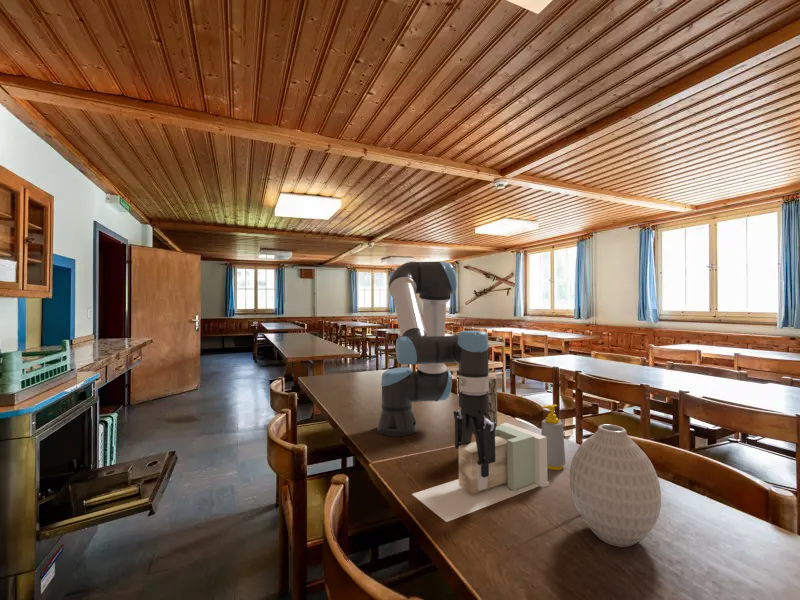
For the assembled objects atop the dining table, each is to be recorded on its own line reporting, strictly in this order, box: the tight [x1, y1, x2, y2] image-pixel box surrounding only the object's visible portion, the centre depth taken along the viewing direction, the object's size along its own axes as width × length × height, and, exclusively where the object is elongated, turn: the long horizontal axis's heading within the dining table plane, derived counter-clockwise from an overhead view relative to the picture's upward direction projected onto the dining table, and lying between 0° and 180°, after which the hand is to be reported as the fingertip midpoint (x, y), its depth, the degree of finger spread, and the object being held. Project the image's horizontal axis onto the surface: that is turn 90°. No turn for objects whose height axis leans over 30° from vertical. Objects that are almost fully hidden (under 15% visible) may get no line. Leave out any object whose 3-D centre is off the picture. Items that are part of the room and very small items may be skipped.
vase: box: [569, 423, 662, 548], centre depth 76 cm, size 16×16×22 cm
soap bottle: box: [540, 403, 566, 471], centre depth 109 cm, size 7×7×18 cm
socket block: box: [495, 425, 535, 490], centre depth 100 cm, size 11×8×12 cm
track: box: [411, 422, 550, 523], centre depth 95 cm, size 14×34×13 cm, turn 121°
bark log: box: [477, 373, 498, 431], centre depth 119 cm, size 7×7×25 cm
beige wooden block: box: [458, 435, 509, 494], centre depth 96 cm, size 5×15×10 cm, turn 121°
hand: (474, 483), depth 94 cm, fingers closed on beige wooden block, 5 cm apart
